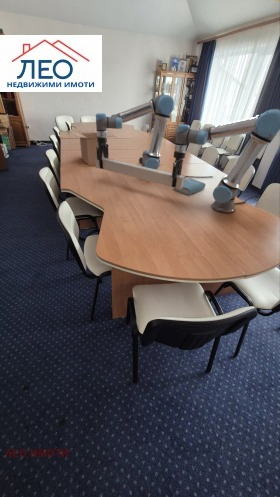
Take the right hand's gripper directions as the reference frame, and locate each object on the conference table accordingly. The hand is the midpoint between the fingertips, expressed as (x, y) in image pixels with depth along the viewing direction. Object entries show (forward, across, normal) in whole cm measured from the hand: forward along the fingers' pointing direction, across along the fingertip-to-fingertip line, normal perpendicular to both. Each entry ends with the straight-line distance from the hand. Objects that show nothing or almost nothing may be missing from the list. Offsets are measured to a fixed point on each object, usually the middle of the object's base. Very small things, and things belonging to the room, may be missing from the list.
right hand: (175, 185), depth 159 cm
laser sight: (+11, +74, +57) cm, 95 cm away
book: (+12, +31, -3) cm, 33 cm away
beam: (0, +1, +32) cm, 33 cm away
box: (+10, +45, +109) cm, 118 cm away
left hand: (-1, +2, +65) cm, 65 cm away
